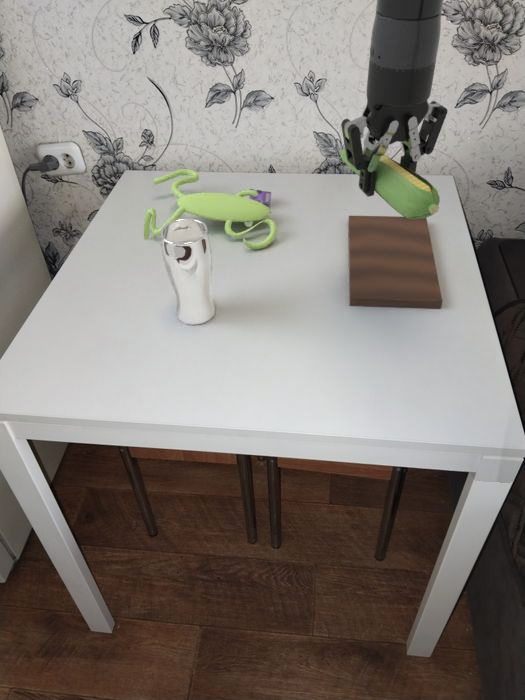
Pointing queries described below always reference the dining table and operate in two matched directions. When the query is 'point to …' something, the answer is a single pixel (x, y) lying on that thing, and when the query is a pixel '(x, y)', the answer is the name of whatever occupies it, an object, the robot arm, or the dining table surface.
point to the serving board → (391, 263)
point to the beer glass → (189, 268)
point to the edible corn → (402, 188)
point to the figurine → (217, 208)
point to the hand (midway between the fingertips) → (386, 188)
